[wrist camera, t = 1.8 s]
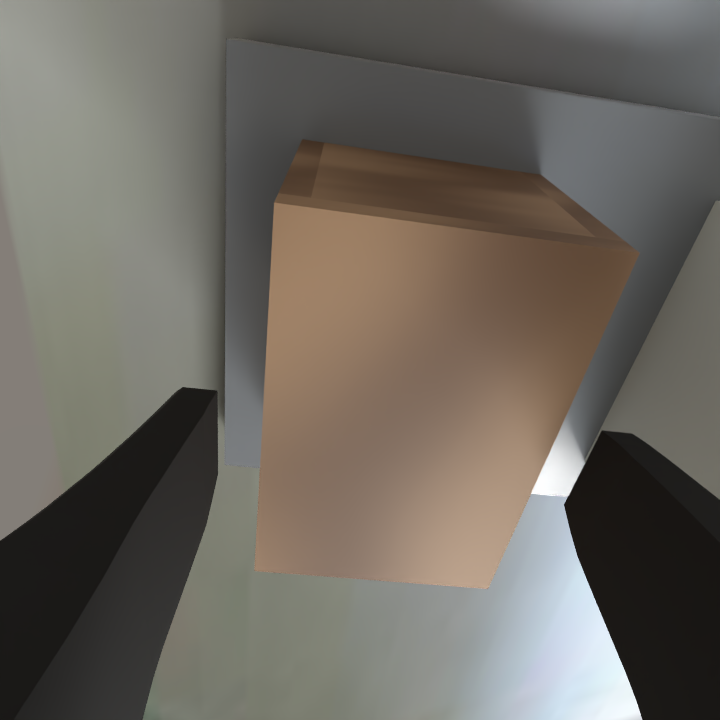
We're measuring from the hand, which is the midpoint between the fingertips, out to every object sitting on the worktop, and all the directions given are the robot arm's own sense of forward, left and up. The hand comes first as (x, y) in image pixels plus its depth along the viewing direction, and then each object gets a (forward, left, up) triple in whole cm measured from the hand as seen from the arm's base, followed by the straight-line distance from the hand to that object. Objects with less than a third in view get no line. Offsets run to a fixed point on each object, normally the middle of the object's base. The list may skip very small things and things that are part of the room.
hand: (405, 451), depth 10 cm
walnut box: (0, 0, -5) cm, 5 cm away
